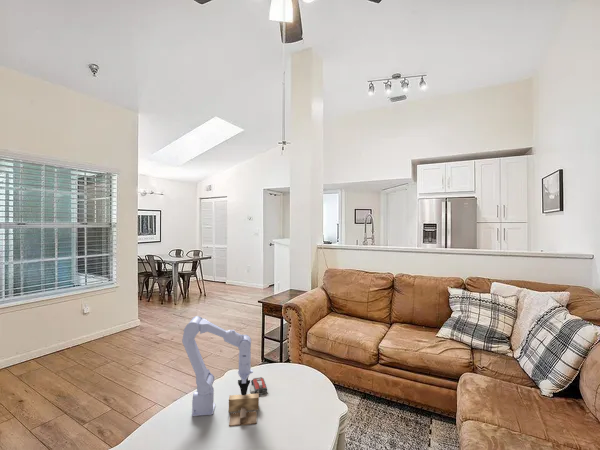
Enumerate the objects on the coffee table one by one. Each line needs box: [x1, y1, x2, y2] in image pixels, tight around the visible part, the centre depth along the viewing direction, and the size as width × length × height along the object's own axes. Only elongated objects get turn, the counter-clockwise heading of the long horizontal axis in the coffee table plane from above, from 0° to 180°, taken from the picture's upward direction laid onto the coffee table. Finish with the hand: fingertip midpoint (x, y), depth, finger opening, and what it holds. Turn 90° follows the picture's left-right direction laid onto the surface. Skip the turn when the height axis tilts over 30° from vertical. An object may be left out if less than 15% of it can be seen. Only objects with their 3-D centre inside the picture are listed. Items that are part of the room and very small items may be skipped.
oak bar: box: [228, 393, 260, 413], centre depth 140 cm, size 14×4×6 cm, turn 99°
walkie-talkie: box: [249, 376, 268, 395], centre depth 154 cm, size 9×4×20 cm
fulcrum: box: [228, 407, 258, 427], centre depth 132 cm, size 12×8×3 cm, turn 99°
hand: (244, 390), depth 140 cm, fingers open, 7 cm apart
